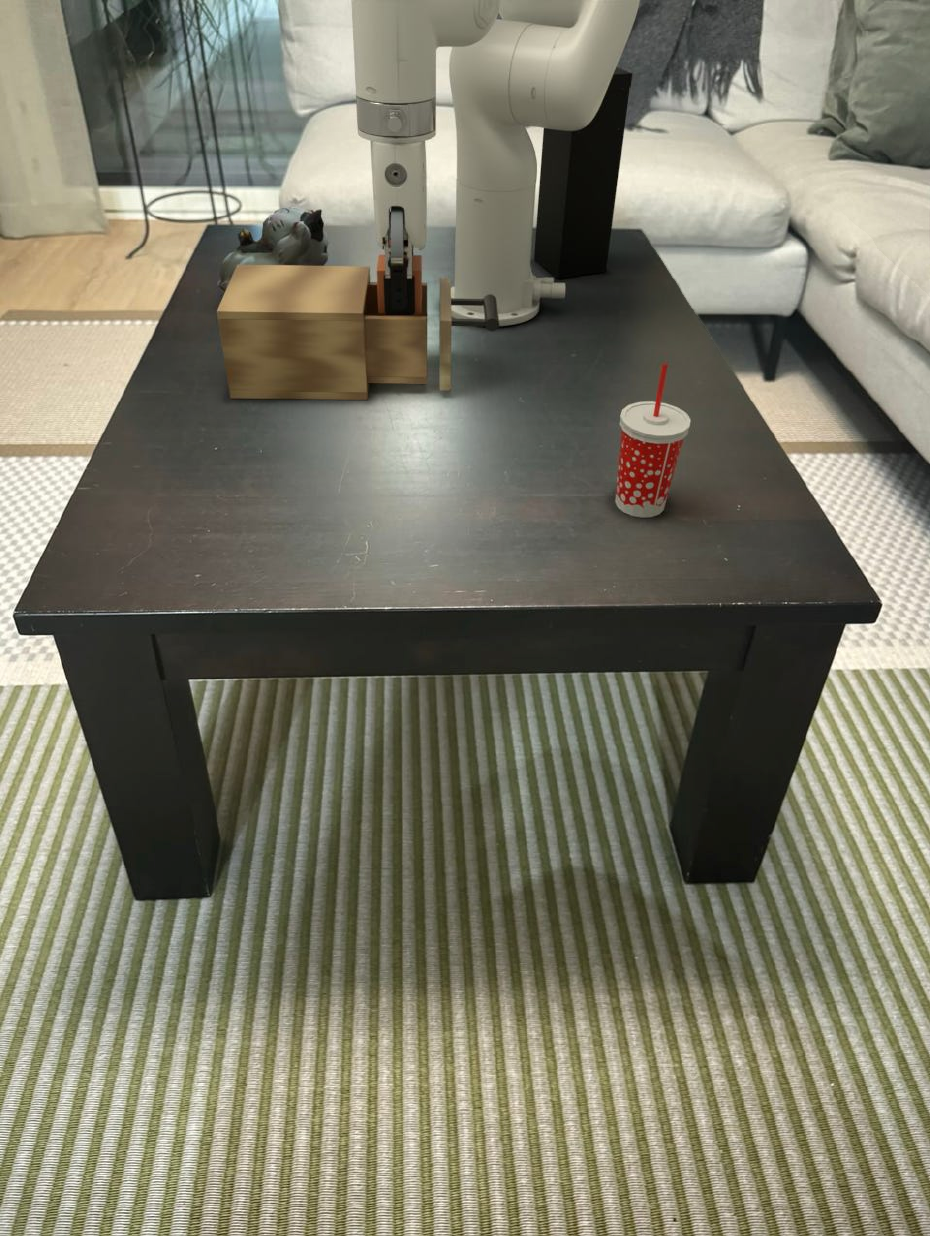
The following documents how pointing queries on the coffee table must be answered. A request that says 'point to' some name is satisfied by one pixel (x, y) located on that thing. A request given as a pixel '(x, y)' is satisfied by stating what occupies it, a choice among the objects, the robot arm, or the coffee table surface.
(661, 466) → the beverage cup
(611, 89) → the tall black pillar
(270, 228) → the lucky cat figurine
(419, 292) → the block
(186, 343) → the coffee table surface
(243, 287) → the cabinet
